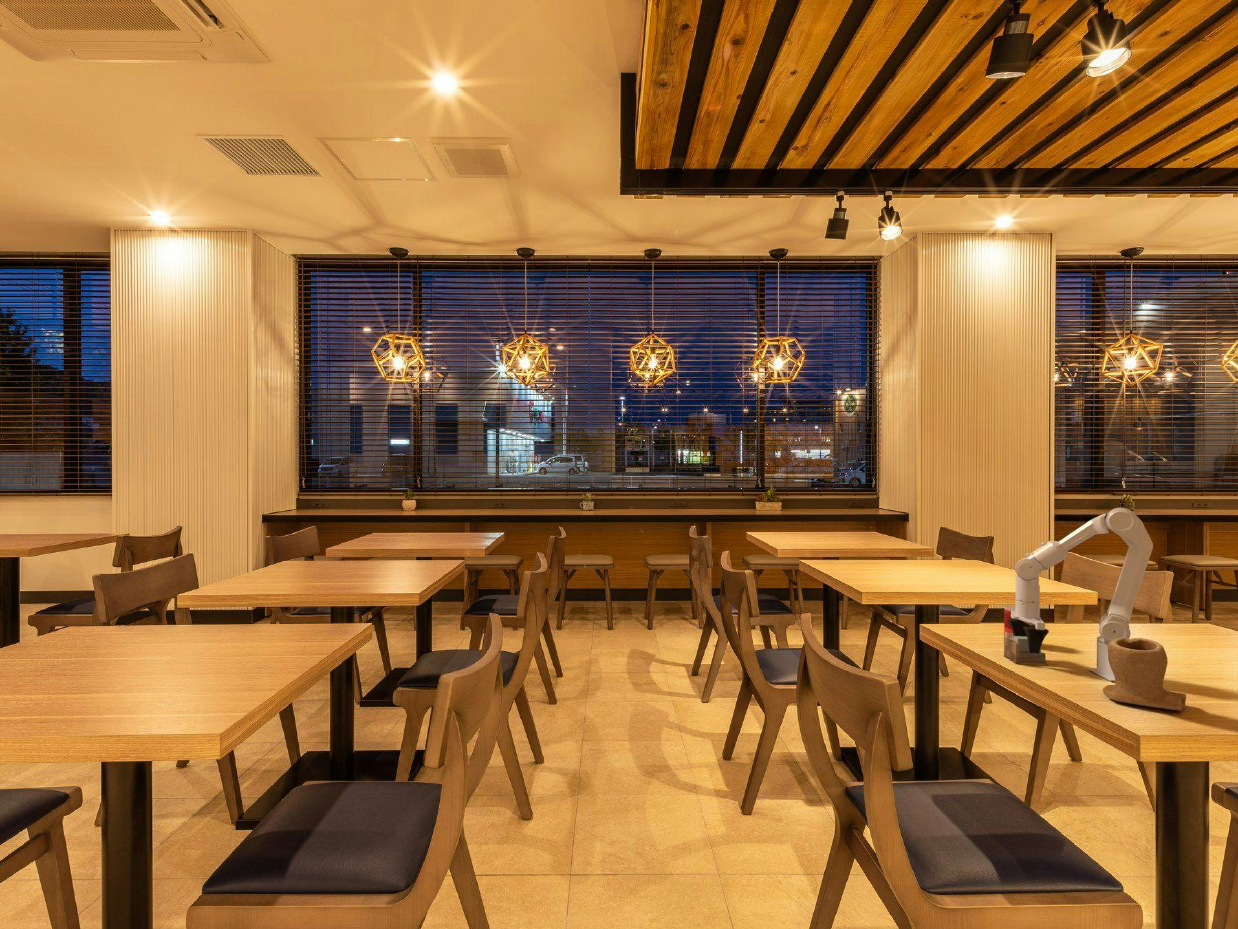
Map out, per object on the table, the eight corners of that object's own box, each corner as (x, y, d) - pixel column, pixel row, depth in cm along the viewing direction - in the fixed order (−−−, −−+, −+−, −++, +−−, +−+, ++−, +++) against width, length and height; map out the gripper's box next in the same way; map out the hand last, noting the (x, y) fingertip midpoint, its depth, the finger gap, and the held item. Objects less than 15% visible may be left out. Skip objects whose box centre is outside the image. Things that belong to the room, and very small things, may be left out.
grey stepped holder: (1047, 665, 168) (1047, 645, 168) (1015, 664, 169) (1016, 644, 169) (1034, 657, 175) (1034, 638, 175) (1003, 656, 176) (1004, 637, 176)
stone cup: (1104, 705, 140) (1104, 640, 140) (1101, 690, 149) (1102, 629, 149) (1194, 722, 131) (1195, 652, 131) (1185, 705, 140) (1185, 640, 140)
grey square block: (1040, 661, 170) (1041, 639, 170) (1017, 660, 171) (1017, 638, 171) (1036, 658, 172) (1036, 637, 172) (1013, 657, 173) (1013, 636, 173)
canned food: (1033, 649, 183) (1034, 612, 184) (1002, 644, 188) (1003, 608, 188) (1035, 643, 190) (1035, 608, 190) (1005, 638, 194) (1005, 604, 194)
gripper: (1000, 594, 179) (999, 640, 179) (1025, 605, 165) (1024, 655, 165) (1026, 595, 178) (1025, 642, 178) (1053, 607, 164) (1053, 657, 164)
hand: (1027, 648), depth 172 cm, fingers open, 7 cm apart
